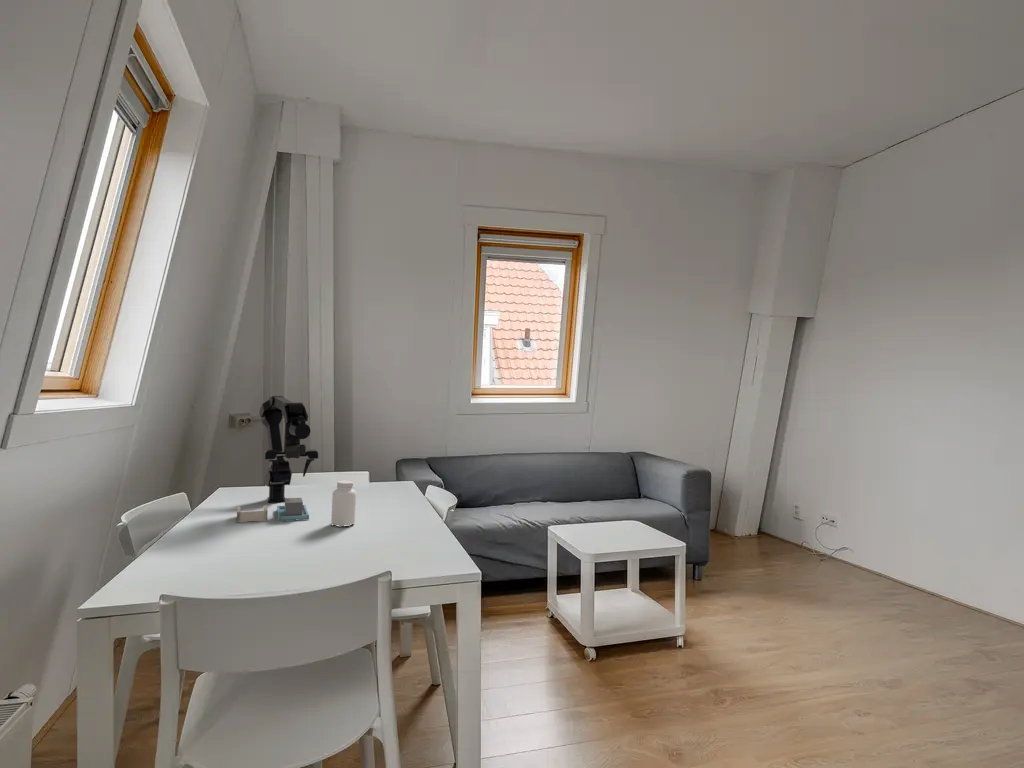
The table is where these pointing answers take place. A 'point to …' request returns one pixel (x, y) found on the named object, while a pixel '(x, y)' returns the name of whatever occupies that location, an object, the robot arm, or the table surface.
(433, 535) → the table surface
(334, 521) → the pill bottle
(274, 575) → the table surface
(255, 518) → the bay
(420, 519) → the table surface
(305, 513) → the tray
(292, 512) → the grey rectangular block
